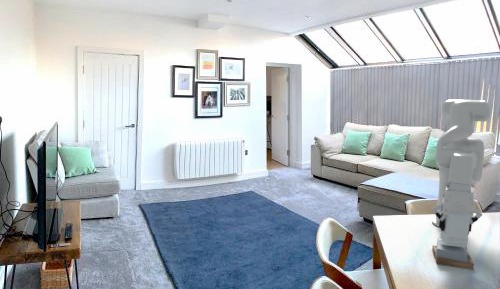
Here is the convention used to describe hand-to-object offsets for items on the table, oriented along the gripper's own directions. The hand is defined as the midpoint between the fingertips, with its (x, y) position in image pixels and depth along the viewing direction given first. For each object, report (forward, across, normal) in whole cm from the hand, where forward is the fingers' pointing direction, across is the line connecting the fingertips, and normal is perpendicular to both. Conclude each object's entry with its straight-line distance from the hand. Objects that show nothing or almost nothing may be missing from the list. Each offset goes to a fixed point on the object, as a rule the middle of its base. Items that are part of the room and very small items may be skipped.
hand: (454, 231), depth 138 cm
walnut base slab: (+12, 0, 0) cm, 12 cm away
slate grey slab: (+9, 0, 0) cm, 9 cm away
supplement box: (+5, 0, 0) cm, 5 cm away
